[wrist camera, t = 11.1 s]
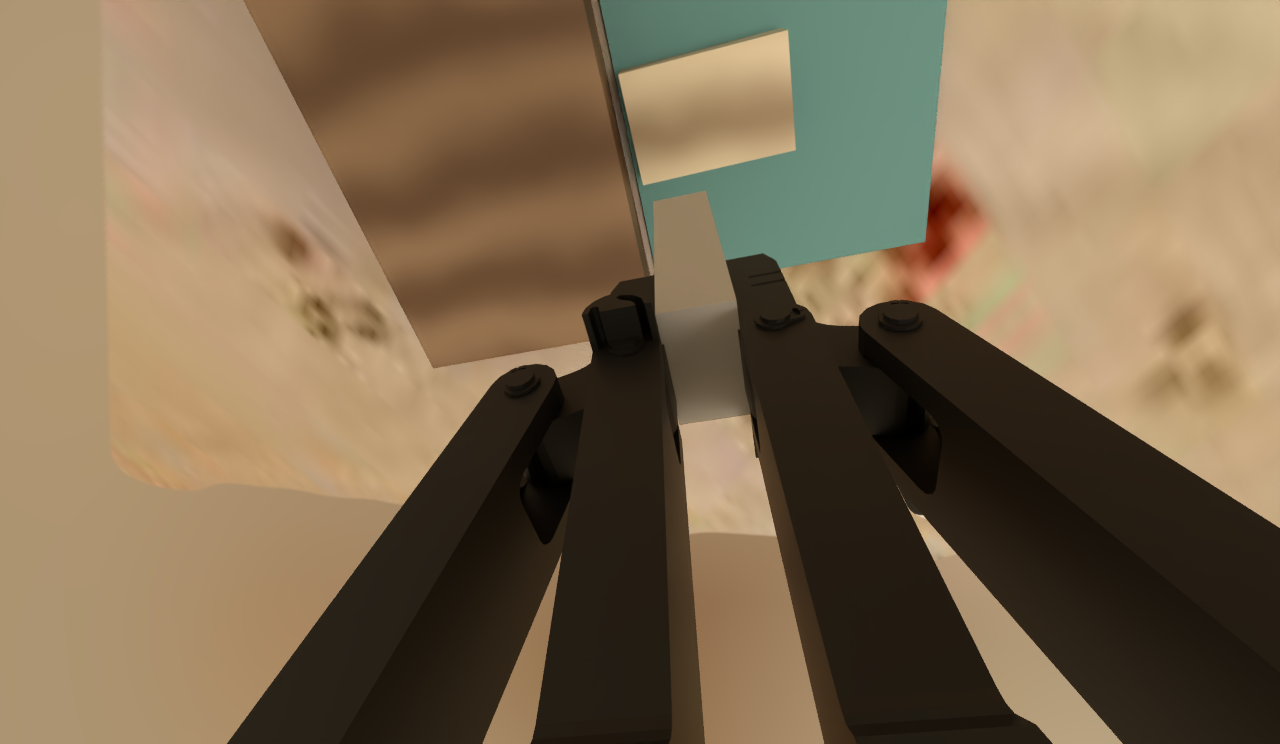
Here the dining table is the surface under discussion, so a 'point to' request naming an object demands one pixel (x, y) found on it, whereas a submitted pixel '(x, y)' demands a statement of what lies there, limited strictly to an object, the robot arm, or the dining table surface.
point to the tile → (711, 106)
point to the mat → (810, 121)
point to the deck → (470, 159)
